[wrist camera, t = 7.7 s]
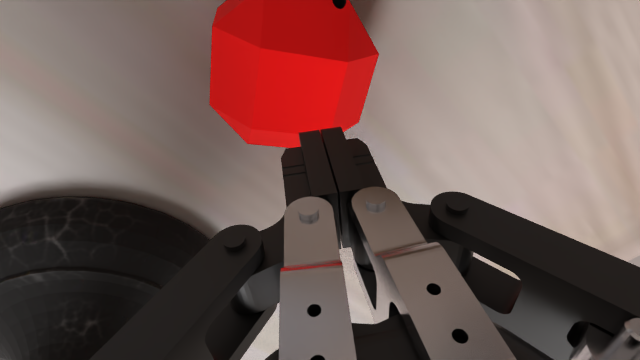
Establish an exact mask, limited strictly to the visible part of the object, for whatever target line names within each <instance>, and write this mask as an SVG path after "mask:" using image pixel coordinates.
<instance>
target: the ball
mask: <svg viewBox="0 0 640 360" xmlns="http://www.w3.org/2000/svg"><path fill="white" fill-rule="evenodd" d="M378 55H379V53H378V51H377V50H376V48H375V46H374V44H373V42H372V41H371V39H370V37H369V35H368V33H367V31H366V30H365V28H364V26H363V24H362V22H361V21H360V19H359V17H358V15H357V13H356V12H355V10H354V8H353V6H352V4H351V3H350V1H349V0H227V1H225V2H224V3H223V4H222V5H221V6H219V7H218V8H217V11H216V15H215V18H214V22H213V25H212V49H211V77H210V106H211V107H212V108H213V109H214V110H215V111H216V112H217V113H218V114H219V115H220V116H221V117H222V118H223V119H224V120H225V121H226V122H227V123H228V124H229V125H230V126H231V127H232V128H233V129H234V130H235V131H236V132H237V133H238V134H239V136H240V137H241V138H242V139H243V140H244V141H245V142H246V143H247V144H255V145H265V146H276V147H286V148H294V147H300V140H299V133H300V132H307V131H314V130H319V131H320V129H327V128H334V127H341V128H342V130H343V132H344V131H346V130H347V129H349V128H351V127H352V126H354V125H355V124H357V123H358V122H359V120H360V116H361V113H362V109H363V106H364V103H365V99H366V96H367V93H368V89H369V86H370V82H371V79H372V76H373V72H374V69H375V65H376V62H377V59H378Z"/></svg>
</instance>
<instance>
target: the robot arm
mask: <svg viewBox="0 0 640 360" xmlns="http://www.w3.org/2000/svg"><path fill="white" fill-rule="evenodd" d="M299 140H300V147H294V148H288V149H286V150H285V152H284V154H283V155H282V157H281V162H282V170H283V179H284V188H285V196H286V205H287V208H286V210H285V214H284V216H283V217H282V218H281V220H280V221H278V222H277V223H276V224H274V225H273V226H271V227H269V228H267V229H264V230H262V231H258V230H257V229H255V228H254V227H252V226H249V225H234V226H231V227H228V228H226V229H224V230H222V231H220V232H219V233H218V234H217V235H215V236H214V237H213V238H212V239H211V240H210V241H209V242H208V243H207V244H206V245H205V246H204V247H203V248H202V249H201V250H200V251H199V252H198V253H197V254H196V255H195V256H194V257H193V258H192V259H191V260H190V261H189V262H188V263H187V264H186V265H185V266H184V267H183V268H182V269H181V270H180V271H179V272H178V273H177V274H176V275H175V276H174V277H173V278H172V279H171V280H170V281H169V282H168V283H167V284H166V285H165V286H164V287H163V288H162V289H161V290H160V291H158V292H157V293H156V294H155V295H154V296H153V297H152V298H151V299H150V300H149V301H148V302H147V303H146V304H145V305H144V306H143V307H142V308H141V309H140V310H139V311H138V312H137V313H136V314H135V315H134V316H133V317H132V318H131V319H130V320H129V321H128V322H127V323H126V324H125V325H124V326H123V327H122V328H121V329H120V330H119V331H118V332H117V333H116V334H115V335H114V336H113V337H112V338H111V339H110V340H109V341H108V342H107V343H106V344H105V345H104V346H103V347H102V348H101V349H100V350H98V351H97V352H96V353H95V354H94V355H93V356H92V357H91V358H90V359H89V360H240V359H241V358H242V356H243V355H244V354H245V352H246V351H247V349H248V348H249V347H250V345H251V344H252V342H253V341H254V340H255V338H256V337H257V335H258V334H259V333H260V331H261V330H262V328H263V327H264V326H265V324H266V323H267V321H268V320H269V319H270V317H271V316H272V314H273V313H274V311H275V309H276V307H277V303H279V302H280V314H279V349H278V350H276V351H275V352H273V353H272V354H271V355H270V356H268V357H267V358H266V359H265V360H640V267H638V266H636V265H633V264H631V263H628V262H626V261H624V260H621V259H619V258H617V257H614V256H612V255H609V254H607V253H605V252H602V251H600V250H598V249H595V248H593V247H591V246H588V245H586V244H583V243H581V242H579V241H576V240H574V239H572V238H569V237H567V236H565V235H562V234H560V233H557V232H555V231H553V230H550V229H548V228H546V227H543V226H541V225H539V224H536V223H534V222H531V221H529V220H527V219H524V218H522V217H520V216H517V215H515V214H512V213H510V212H508V211H505V210H503V209H501V208H498V207H496V206H494V205H491V204H489V203H486V202H484V201H482V200H479V199H477V198H475V197H472V196H470V195H467V194H465V193H460V192H445V193H441V194H439V195H437V196H435V197H434V198H433V200H432V201H431V205H424V204H412V203H407V202H404V201H401V200H400V198H399V197H398V195H397V194H396V193H395V192H393V191H391V190H389V189H387V187H386V185H385V183H384V181H383V179H382V177H381V175H380V172H379V170H378V168H377V166H376V164H375V163H374V160H373V157H372V156H371V153H370V151H369V149H368V147H367V145H366V144H365V143H363V142H362V141H361V140H359V139H358V138H355V139H348V140H346V138H345V136H344V133H343V130H342V128H341V127H334V128H327V129H320V131H319V130H314V131H307V132H300V133H299ZM340 238H341V240H340ZM341 242H342V246H343V248H348V247H351V248H352V252H353V256H354V268H355V271H356V274H357V277H358V279H359V282H360V285H361V287H362V290H363V292H364V295H365V298H366V300H367V303H368V306H369V308H370V311H371V314H372V317H373V320H374V324H357V323H351V318H350V311H349V305H348V298H347V291H346V285H345V278H344V272H343V266H342V261H341V260H340V254H339V249H341ZM474 252H475V253H477V254H479V255H480V256H482V257H484V258H486V259H488V260H490V261H492V262H494V263H496V264H498V265H500V266H502V267H504V268H506V269H508V270H510V271H512V272H513V273H515V274H516V275H517V276H518V277H519V279H520V280H517V279H515V278H513V277H511V276H510V275H508V274H506V273H504V272H502V271H500V270H498V269H496V268H494V267H492V266H490V265H488V264H486V263H485V262H483V261H481V260H479V259H477V258H475V257H473V253H474Z"/></svg>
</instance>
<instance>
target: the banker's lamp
mask: <svg viewBox="0 0 640 360" xmlns="http://www.w3.org/2000/svg"><path fill="white" fill-rule="evenodd" d="M209 241H210V240H209V239H208V238H206V237H205V236H203V235H202V234H200V233H199V232H198V231H196V230H195V229H193V228H192V227H190V226H189V225H187V224H185V223H183V222H181V221H178V220H176V219H174V218H172V217H170V216H168V215H166V214H164V213H161V212H157V211H154V210H151V209H148V208H145V207H141V206H138V205H135V204H131V203H125V202H119V201H113V200H107V199H101V198H78V197H61V198H51V199H41V200H32V201H28V202H24V203H21V204H17V205H13V206H9V207H6V208H2V209H0V360H89V359H90V358H91V357H92V356H93V355H94V354H95V353H96V352H97V351H98V350H100V349H101V348H102V347H103V346H104V345H105V344H106V343H107V342H108V341H109V340H110V339H111V338H112V337H113V336H114V335H115V334H116V333H117V332H118V331H119V330H120V329H121V328H122V327H123V326H124V325H125V324H126V323H127V322H128V321H129V320H130V319H131V318H132V317H133V316H134V315H135V314H136V313H137V312H138V311H139V310H140V309H141V308H142V307H143V306H144V305H145V304H146V303H147V302H148V301H149V300H150V299H151V298H152V297H153V296H154V295H155V294H156V293H157V292H158V291H160V290H161V289H162V288H163V287H164V286H165V285H166V284H167V283H168V282H169V281H170V280H171V279H172V278H173V277H174V276H175V275H176V274H177V273H178V272H179V271H180V270H181V269H182V268H183V267H184V266H185V265H186V264H187V263H188V262H189V261H190V260H191V259H192V258H193V257H194V256H195V255H196V254H197V253H198V252H199V251H200V250H201V249H202V248H203V247H204V246H205V245H206V244H207V243H208V242H209Z"/></svg>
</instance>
